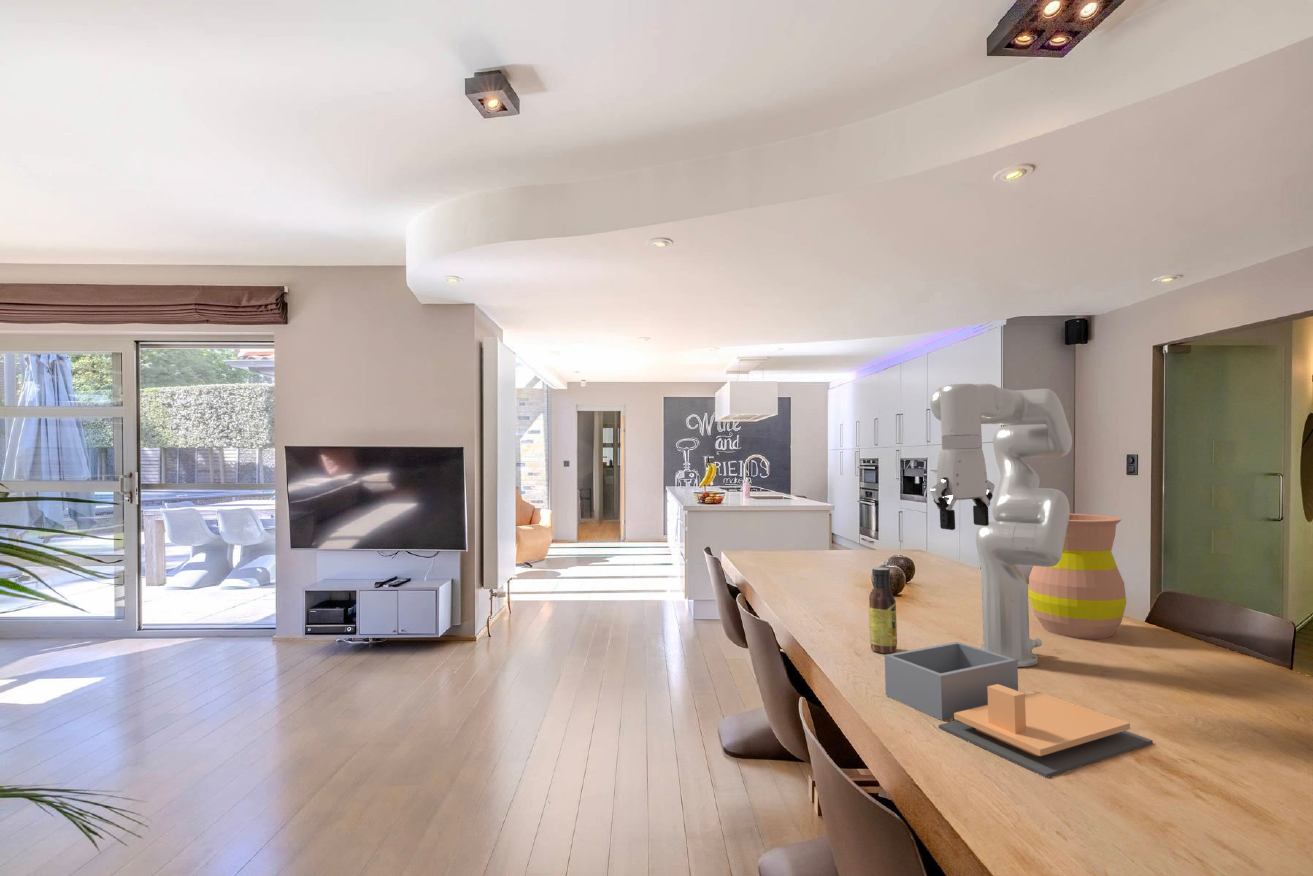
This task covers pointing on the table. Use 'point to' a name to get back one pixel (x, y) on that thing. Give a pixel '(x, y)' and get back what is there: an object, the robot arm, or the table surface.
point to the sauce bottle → (882, 613)
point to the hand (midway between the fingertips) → (964, 527)
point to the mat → (1055, 760)
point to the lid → (1038, 721)
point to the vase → (1081, 582)
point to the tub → (947, 677)
